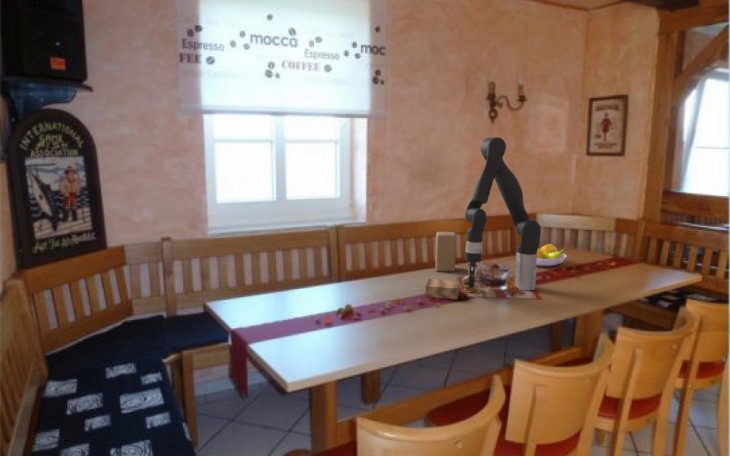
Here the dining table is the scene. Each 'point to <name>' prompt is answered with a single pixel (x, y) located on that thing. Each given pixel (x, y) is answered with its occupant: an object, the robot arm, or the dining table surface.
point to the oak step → (442, 289)
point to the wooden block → (445, 251)
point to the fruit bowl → (549, 256)
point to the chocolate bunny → (466, 281)
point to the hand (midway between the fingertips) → (471, 284)
